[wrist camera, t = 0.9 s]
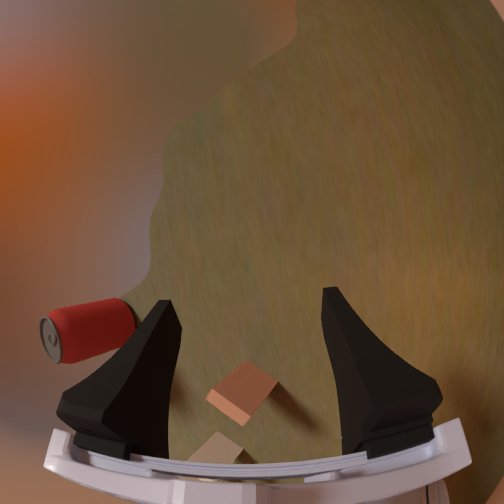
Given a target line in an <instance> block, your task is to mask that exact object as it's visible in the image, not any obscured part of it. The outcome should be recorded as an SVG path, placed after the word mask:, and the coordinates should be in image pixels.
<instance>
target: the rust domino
mask: <svg viewBox="0 0 504 504" xmlns="http://www.w3.org/2000/svg"><path fill="white" fill-rule="evenodd" d="M277 383H278V381H277V380H275V379H274V378H272V377H271V376H269V375H268V374H266V373H265V372H263V371H262V370H260V369H259V368H257V367H256V366H254V365H253V364H252V363H250V362H249V361H247V360H246V361H245V362H243V363H242V364H241V365H240V366H239V367H238V368H236V369H235V370H234V371H233V372H232V373H230V374H229V375H228V376H227V377H226V378H224V379H223V380H222V381H221V382H219V383H218V384H217V385H216V386H214V387H213V388H212V389H211V391H210V393H209V394H208V396H207V398H206V400H207V401H209V402H210V403H211V404H213V405H214V406H215V407H217V408H218V409H219V410H221V411H222V412H223V413H225V414H226V415H228V416H229V417H230V418H232V419H233V420H235V421H236V422H237V423H239V424H240V425H242V426H244V424H245V423H246V422H247V421H248V420H249V418H250V417H251V416H252V415H253V414H254V412H255V411H256V410H257V409H258V407H259V406H260V405H261V404H262V402H263V401H264V400H265V398H266V397H267V396H268V395H269V393H270V392H271V391H272V389H273V388H274V387H275V385H276V384H277Z"/></svg>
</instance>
